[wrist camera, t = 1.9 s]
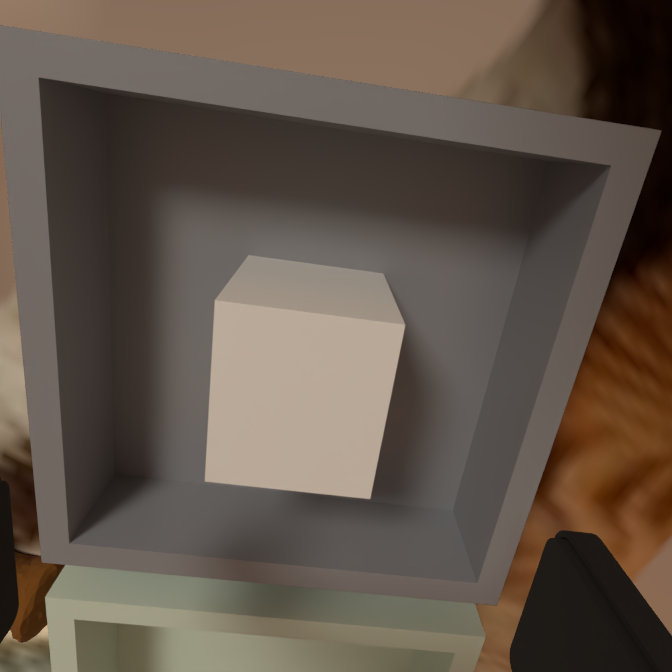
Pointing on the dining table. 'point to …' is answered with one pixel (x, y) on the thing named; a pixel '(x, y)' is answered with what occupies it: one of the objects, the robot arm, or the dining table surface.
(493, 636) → the dining table surface
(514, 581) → the dining table surface
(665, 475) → the dining table surface
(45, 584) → the primitive tool
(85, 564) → the charcoal bin
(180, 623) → the sage crate
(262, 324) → the beige block
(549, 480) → the dining table surface
